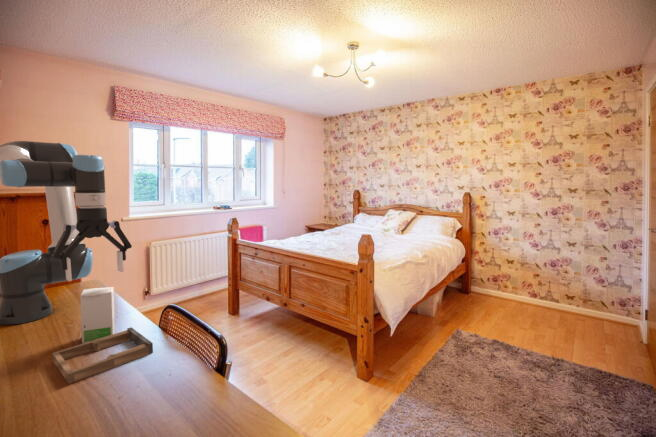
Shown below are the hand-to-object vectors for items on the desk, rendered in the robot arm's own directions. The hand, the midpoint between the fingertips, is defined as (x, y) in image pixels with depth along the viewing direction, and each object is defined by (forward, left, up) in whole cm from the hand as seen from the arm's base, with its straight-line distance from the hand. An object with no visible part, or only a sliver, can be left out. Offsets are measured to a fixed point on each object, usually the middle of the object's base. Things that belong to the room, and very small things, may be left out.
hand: (96, 275), depth 103 cm
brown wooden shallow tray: (+14, -3, -20) cm, 25 cm away
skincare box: (0, 0, -21) cm, 21 cm away
